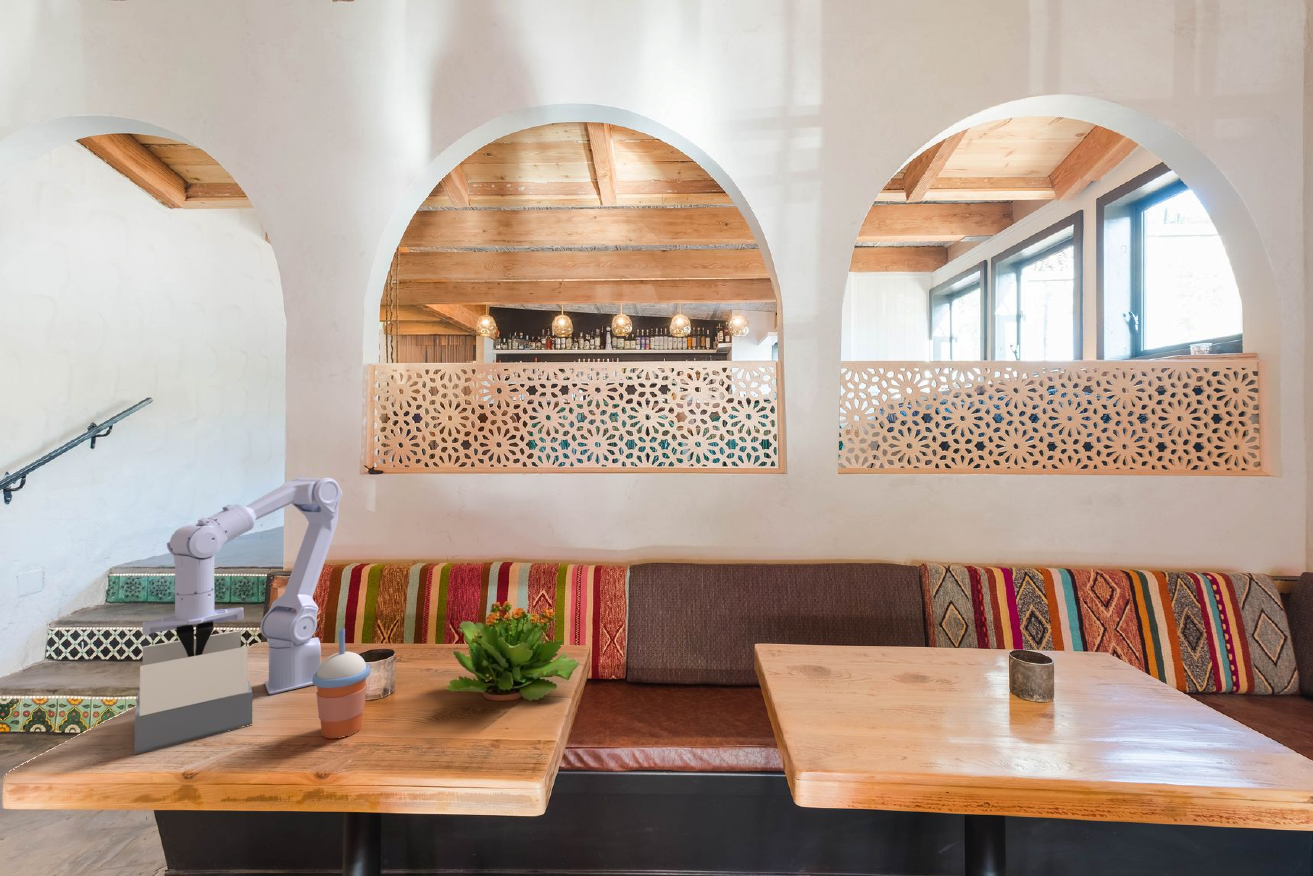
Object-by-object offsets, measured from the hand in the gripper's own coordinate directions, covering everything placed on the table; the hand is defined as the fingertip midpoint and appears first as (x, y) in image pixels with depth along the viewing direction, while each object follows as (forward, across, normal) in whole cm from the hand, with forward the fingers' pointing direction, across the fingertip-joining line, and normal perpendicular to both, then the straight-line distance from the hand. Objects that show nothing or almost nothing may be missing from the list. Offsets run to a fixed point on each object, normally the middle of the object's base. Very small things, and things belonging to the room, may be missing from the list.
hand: (194, 665), depth 108 cm
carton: (+10, 0, 0) cm, 10 cm away
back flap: (0, 0, +7) cm, 7 cm away
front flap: (0, 0, -7) cm, 7 cm away
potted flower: (+11, +49, -24) cm, 56 cm away
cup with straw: (+11, +20, -21) cm, 31 cm away
